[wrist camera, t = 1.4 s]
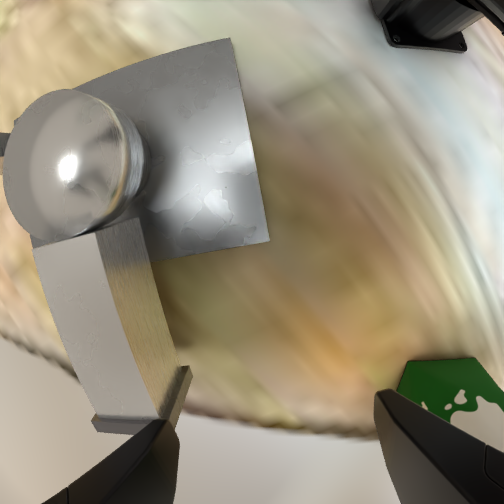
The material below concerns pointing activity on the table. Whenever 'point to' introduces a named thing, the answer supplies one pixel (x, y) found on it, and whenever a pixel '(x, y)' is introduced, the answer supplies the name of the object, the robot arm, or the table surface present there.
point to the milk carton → (458, 396)
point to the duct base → (187, 151)
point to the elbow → (95, 255)
